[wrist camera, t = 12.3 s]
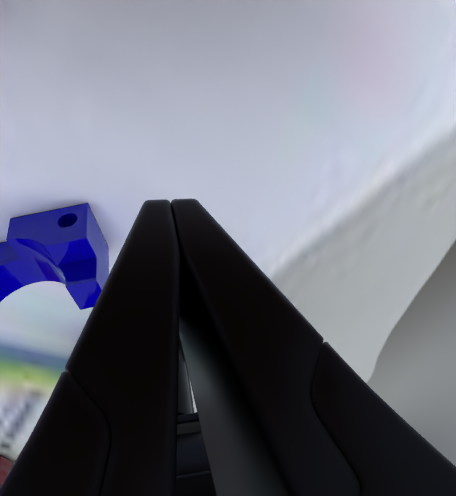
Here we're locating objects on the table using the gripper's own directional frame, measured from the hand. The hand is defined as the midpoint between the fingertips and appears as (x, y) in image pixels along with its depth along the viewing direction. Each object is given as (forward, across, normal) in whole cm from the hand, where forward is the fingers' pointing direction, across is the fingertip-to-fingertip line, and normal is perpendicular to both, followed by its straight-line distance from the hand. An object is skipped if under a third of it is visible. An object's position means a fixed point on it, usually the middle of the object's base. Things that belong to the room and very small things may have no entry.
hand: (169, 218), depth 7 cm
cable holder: (+13, +6, +13) cm, 19 cm away
